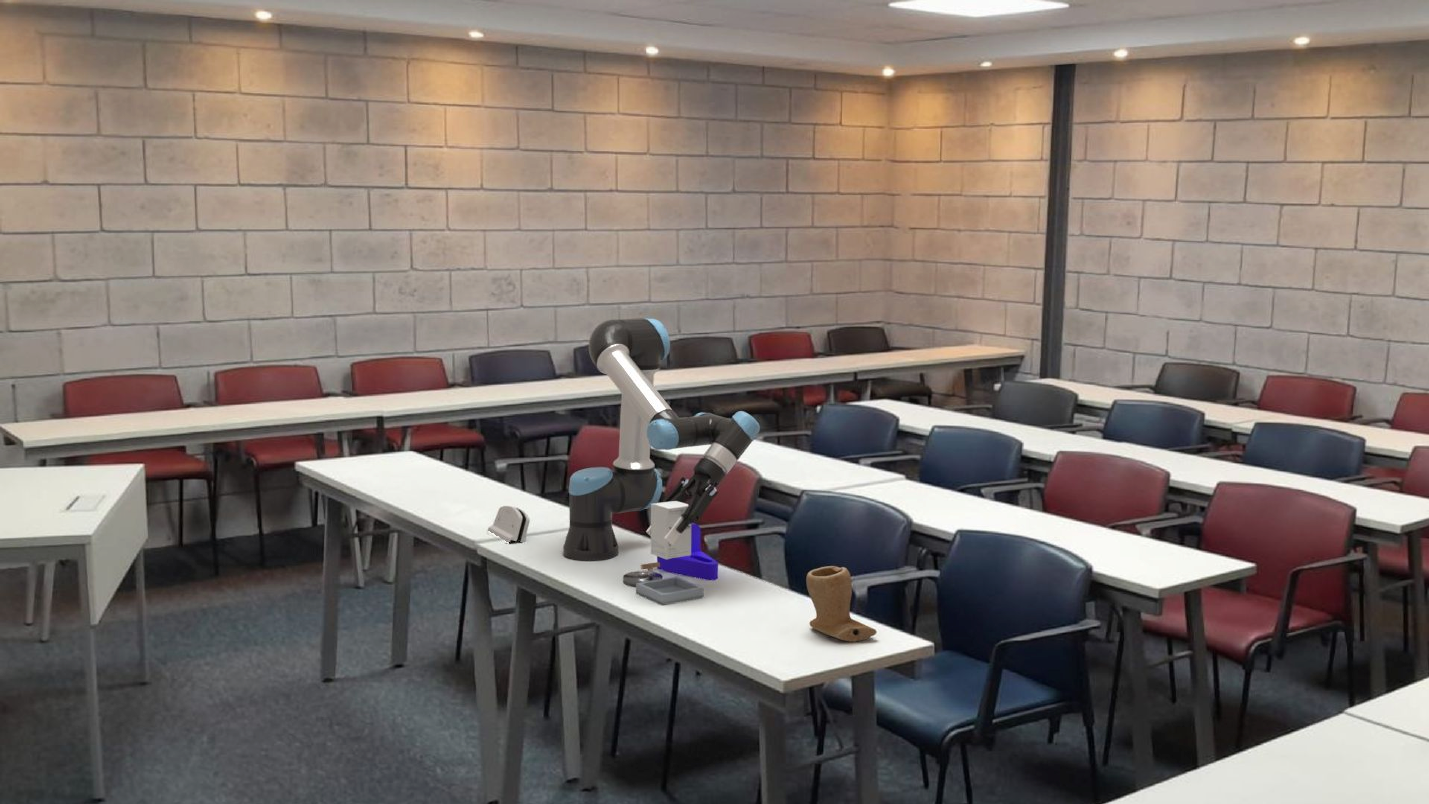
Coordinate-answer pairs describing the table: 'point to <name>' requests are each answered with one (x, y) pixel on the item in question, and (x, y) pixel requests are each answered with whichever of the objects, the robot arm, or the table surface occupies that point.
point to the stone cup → (834, 604)
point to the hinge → (510, 524)
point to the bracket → (692, 560)
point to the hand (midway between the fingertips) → (659, 538)
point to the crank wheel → (642, 575)
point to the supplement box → (661, 524)
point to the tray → (669, 590)
